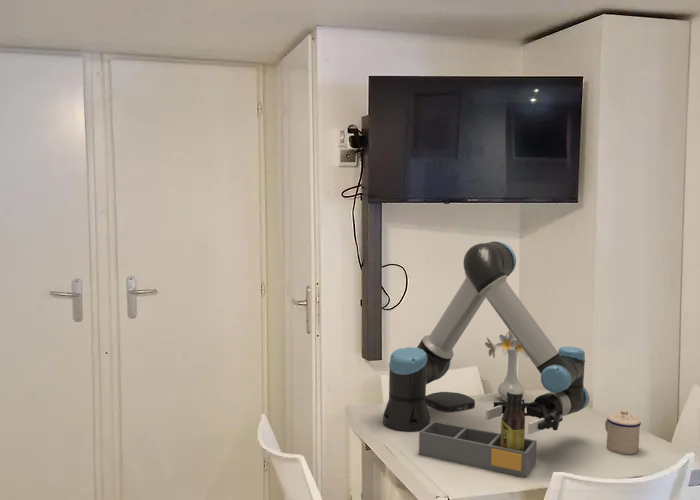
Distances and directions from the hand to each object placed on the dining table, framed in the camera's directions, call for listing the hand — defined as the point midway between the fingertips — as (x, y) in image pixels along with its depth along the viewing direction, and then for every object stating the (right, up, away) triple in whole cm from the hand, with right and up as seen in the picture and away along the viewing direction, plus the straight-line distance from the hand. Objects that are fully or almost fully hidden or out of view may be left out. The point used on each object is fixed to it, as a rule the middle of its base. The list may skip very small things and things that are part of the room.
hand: (507, 421), depth 179 cm
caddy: (-7, -12, +8) cm, 16 cm away
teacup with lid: (+37, -13, +18) cm, 43 cm away
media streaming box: (-7, -9, +56) cm, 57 cm away
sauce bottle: (+2, -12, +3) cm, 13 cm away
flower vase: (+15, -8, +62) cm, 64 cm away
